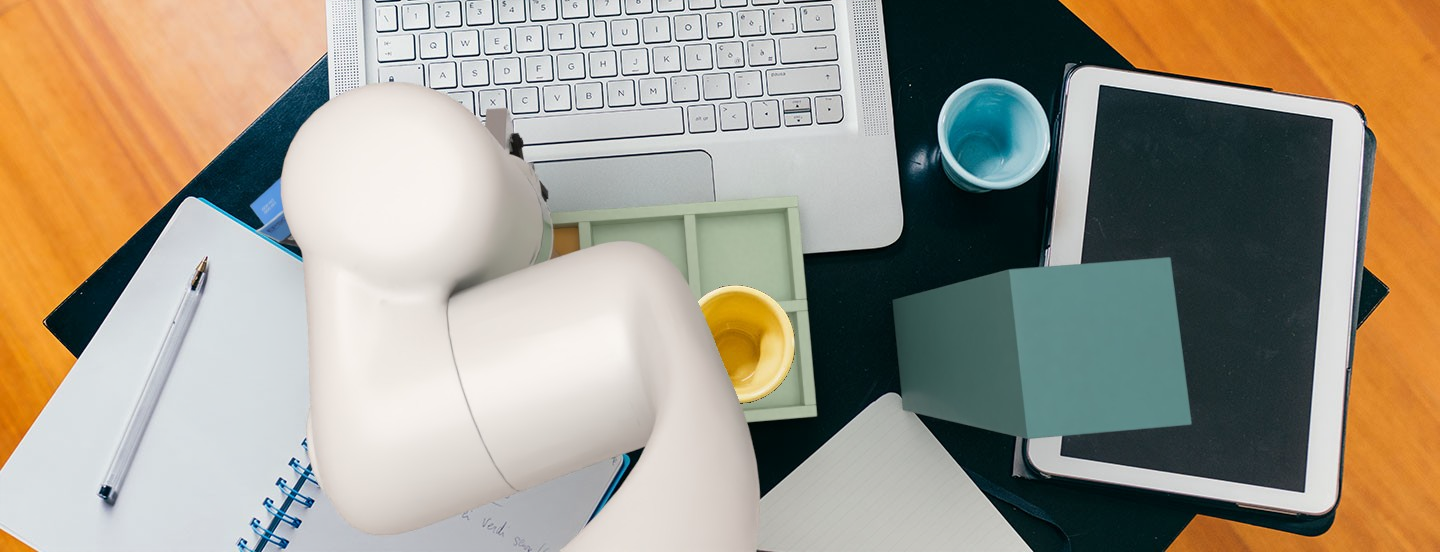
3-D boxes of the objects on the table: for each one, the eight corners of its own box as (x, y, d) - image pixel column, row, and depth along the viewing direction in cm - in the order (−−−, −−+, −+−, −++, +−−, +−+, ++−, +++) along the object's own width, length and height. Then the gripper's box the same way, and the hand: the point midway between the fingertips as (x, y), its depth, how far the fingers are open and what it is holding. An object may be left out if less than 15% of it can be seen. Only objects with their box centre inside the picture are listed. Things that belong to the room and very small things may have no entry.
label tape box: (395, 137, 62) (326, 83, 50) (434, 177, 62) (375, 133, 50) (302, 222, 61) (209, 188, 49) (342, 263, 61) (259, 239, 49)
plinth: (1011, 401, 63) (1192, 424, 41) (902, 410, 62) (1027, 439, 40) (999, 291, 63) (1170, 257, 41) (892, 299, 63) (1008, 269, 41)
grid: (811, 413, 62) (817, 416, 59) (490, 441, 60) (482, 444, 58) (792, 202, 63) (797, 195, 61) (479, 224, 62) (470, 218, 59)
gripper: (378, 58, 41) (465, 146, 58) (395, 426, 39) (479, 405, 56) (538, 49, 41) (577, 139, 58) (561, 412, 40) (594, 395, 57)
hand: (529, 269), depth 57 cm, fingers open, 9 cm apart
